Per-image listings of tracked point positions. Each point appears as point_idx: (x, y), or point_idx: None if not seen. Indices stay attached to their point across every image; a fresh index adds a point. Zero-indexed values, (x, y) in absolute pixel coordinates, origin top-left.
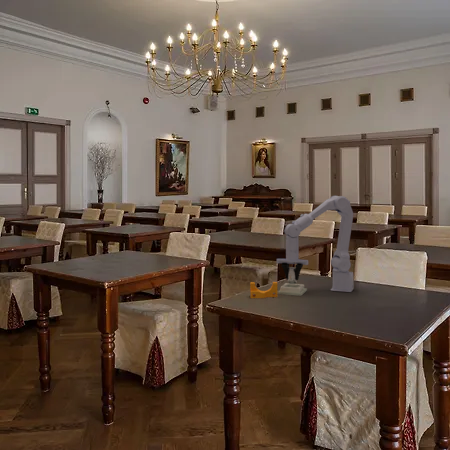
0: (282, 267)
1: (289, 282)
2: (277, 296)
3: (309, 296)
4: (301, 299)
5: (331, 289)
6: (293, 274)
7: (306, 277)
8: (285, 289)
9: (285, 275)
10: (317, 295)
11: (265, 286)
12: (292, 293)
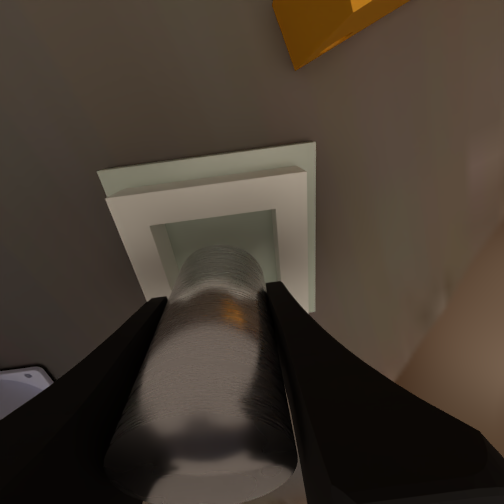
0: (428, 407)
1: (233, 252)
2: (273, 2)
3: (39, 178)
4: (5, 11)
5: (36, 375)
6: (164, 326)
7: (283, 484)
8: (250, 175)
9: (299, 304)
10: (16, 236)
11: (436, 308)
12: (178, 160)
